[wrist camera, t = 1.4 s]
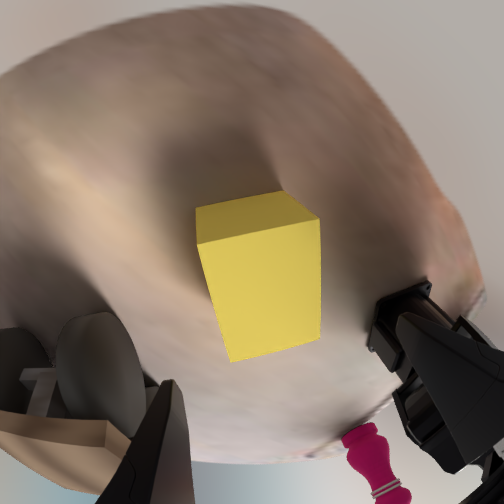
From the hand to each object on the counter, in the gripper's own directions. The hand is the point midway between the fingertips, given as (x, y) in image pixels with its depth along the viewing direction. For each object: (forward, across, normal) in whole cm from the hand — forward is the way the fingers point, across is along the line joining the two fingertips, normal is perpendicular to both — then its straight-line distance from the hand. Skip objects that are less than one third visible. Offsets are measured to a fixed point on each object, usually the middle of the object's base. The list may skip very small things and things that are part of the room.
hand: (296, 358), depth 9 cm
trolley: (+8, +15, +8) cm, 19 cm away
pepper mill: (+9, -13, +38) cm, 41 cm away
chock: (+8, 0, 0) cm, 9 cm away
